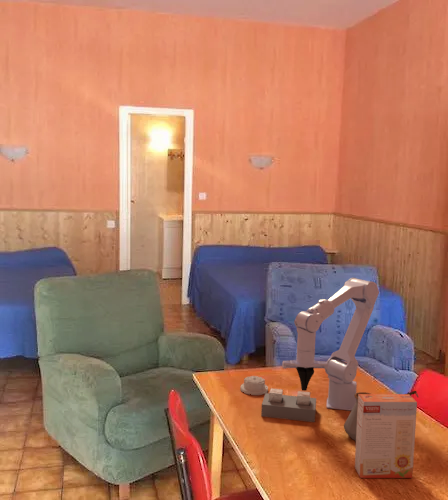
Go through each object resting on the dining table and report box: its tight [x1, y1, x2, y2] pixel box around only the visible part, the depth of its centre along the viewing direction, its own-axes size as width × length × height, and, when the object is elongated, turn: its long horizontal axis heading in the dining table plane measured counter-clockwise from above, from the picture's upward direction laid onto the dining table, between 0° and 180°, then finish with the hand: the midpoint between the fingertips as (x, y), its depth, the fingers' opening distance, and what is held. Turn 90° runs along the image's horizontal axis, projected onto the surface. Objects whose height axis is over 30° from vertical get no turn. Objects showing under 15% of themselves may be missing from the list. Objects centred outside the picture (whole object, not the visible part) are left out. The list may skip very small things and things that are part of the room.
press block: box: [260, 392, 317, 423], centre depth 186 cm, size 17×10×4 cm, turn 79°
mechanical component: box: [239, 375, 269, 396], centre depth 206 cm, size 10×4×10 cm
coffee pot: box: [343, 390, 419, 442], centre depth 170 cm, size 21×12×15 cm, turn 89°
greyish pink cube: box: [268, 388, 284, 403], centre depth 187 cm, size 4×4×4 cm
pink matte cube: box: [296, 390, 311, 406], centre depth 185 cm, size 4×4×4 cm
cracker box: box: [354, 393, 418, 479], centre depth 149 cm, size 14×6×21 cm, turn 92°
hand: (303, 389), depth 185 cm, fingers closed
